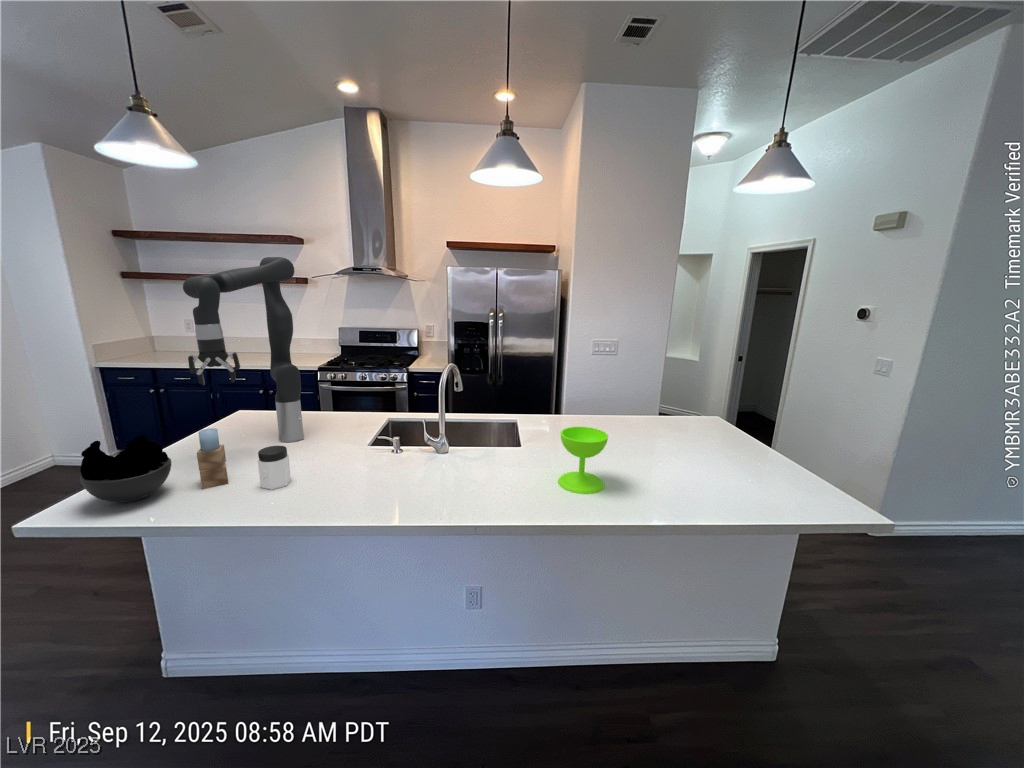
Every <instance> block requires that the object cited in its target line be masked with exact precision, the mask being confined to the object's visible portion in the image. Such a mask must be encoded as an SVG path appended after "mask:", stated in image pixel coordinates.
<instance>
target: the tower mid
mask: <svg viewBox="0 0 1024 768" xmlns="http://www.w3.org/2000/svg"><path fill="white" fill-rule="evenodd" d="M219 445H220V448H219V449H217V450H213V451H201V448H199V450H197V452H196V458H197V466H198V471H199V472H200V470H209V469H218V468H222V467H223V465H224V464H225V463H226V462H227V457H226V451H225V444H219Z"/></svg>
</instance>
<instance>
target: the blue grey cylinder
mask: <svg viewBox="0 0 1024 768" xmlns="http://www.w3.org/2000/svg"><path fill="white" fill-rule="evenodd" d="M198 438H199V440H198V441H199V446H200V448H201V451H213V450H217V449H219V448H220V445H221V444H220V439H219V431H218V428H205V429H201V430H199V431H198ZM200 448H199V449H200Z"/></svg>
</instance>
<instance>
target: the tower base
mask: <svg viewBox="0 0 1024 768" xmlns="http://www.w3.org/2000/svg"><path fill="white" fill-rule="evenodd" d="M227 470H228V469H227V464H226V462H225V464H224V465H223V467H222V468H218V469H209V470H200V471H199V477H200V484H201V490H205V489H211V488H216V487H219V486H225V485H229V477H228V471H227Z"/></svg>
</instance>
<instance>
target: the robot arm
mask: <svg viewBox="0 0 1024 768" xmlns="http://www.w3.org/2000/svg"><path fill="white" fill-rule="evenodd" d="M294 275H295V266H294V264H293V263H292V261H291V260H290V259H288V258H286V257H282V256H281V257H280V256H267V257H263V258H262V259H261V260H260V262H259V265H257V266H251V267H241V268H233V269H227V270H225V271H220V272H217V273H210V274H205V275H204V274H203V275H197V276H192V277H188V278H187V279H185V281H184V282H183V284H182V288H183V289H182V290H183V292H184V293H185V294H186V295H187V296H188V297H190V298H193V299H198V305H197V306H195V307H193V309H192V316H193V321H194V327H195V328H194V332H195V333H194V334H195V338H196V343H197V348H198V355H193V354H190V355H189V356H188V357H187V361H188V369H189V373H190V374H193V375H194V374H195V375H197V381H198V384H200V385H201V386H205V385H206V381H205V377H204V373H203V372H204V370H205V369H206V368H207V367H208V368H215V367H222V366H223V367H224V368H225V369H227V370H228V371H229V377H230V382H231V383H234V382H235V381H236V379H237V376H236V371H239V370H240V369H241V363H240V360H239V356H238V355H239V354H238V353H237V352H236V351H233V352H231V353H228V352H227V349H226V345H225V344H226V343H225V339H224V331H223V328H222V325H221V319H220V313H219V310H220V309H219V308H220V300H221V293H231V292H234V291H235V292H236V291H238V290H241V289H246V288H250V287H252V286H256V285H260V284H261V285H262V291H263V295H264V303H265V304H264V306H265V314H266V315H265V316H266V325H267V327H266V328H267V333H268V343H269V347H270V369H269V370H270V377H271V379H273V380H274V381H275V382H276V394H274V400H275V409H276V421H277V430H278V431H277V432H278V440H279V441H280V442H282V443H293V442H294V443H295V442H298V441H301V440H304V425H303V416H302V404H301V394H302V381H301V379H302V378H301V371H300V370H299V368H298V367H297V365H294V364H293V362H292V358H291V357H292V356H291V343H292V342H293V341H292V340H293V335H294V320H293V314H292V311H291V309H290V307H289V305H288V304H287V302H286V301H285V299H284V297H283V295H282V290H281V282H286V281H287V282H288V281H289V280H291V279H292V278H293V277H294ZM228 358H230V359H231V360H233V363H234V366H232V365H231V364H230V363H229V362H228V361H227V359H228ZM197 360H199V361H200V362H201V363H202V364H201V366H200V367H199V368H198V369H196V366H195V365H196V364H195V363H196V362H197Z"/></svg>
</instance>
